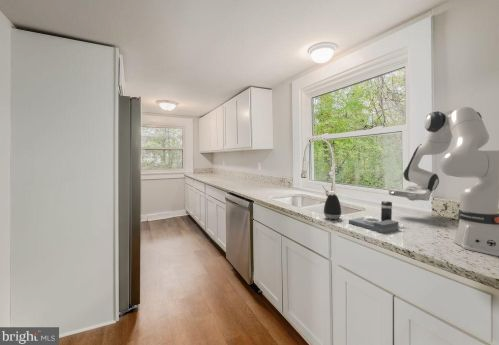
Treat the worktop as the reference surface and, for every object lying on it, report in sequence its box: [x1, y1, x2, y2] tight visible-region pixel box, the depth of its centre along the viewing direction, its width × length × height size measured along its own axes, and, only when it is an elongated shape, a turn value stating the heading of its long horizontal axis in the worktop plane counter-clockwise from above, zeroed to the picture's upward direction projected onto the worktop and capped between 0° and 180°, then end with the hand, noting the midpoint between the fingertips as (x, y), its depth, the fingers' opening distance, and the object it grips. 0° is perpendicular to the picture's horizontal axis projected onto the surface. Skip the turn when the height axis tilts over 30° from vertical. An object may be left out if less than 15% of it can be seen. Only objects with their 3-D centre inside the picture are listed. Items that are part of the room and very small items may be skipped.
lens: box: [380, 200, 393, 221], centre depth 129 cm, size 5×5×12 cm
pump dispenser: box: [323, 193, 342, 220], centre depth 140 cm, size 10×10×15 cm
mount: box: [348, 216, 399, 234], centre depth 124 cm, size 20×12×4 cm, turn 28°
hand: (400, 195), depth 135 cm, fingers open, 8 cm apart
